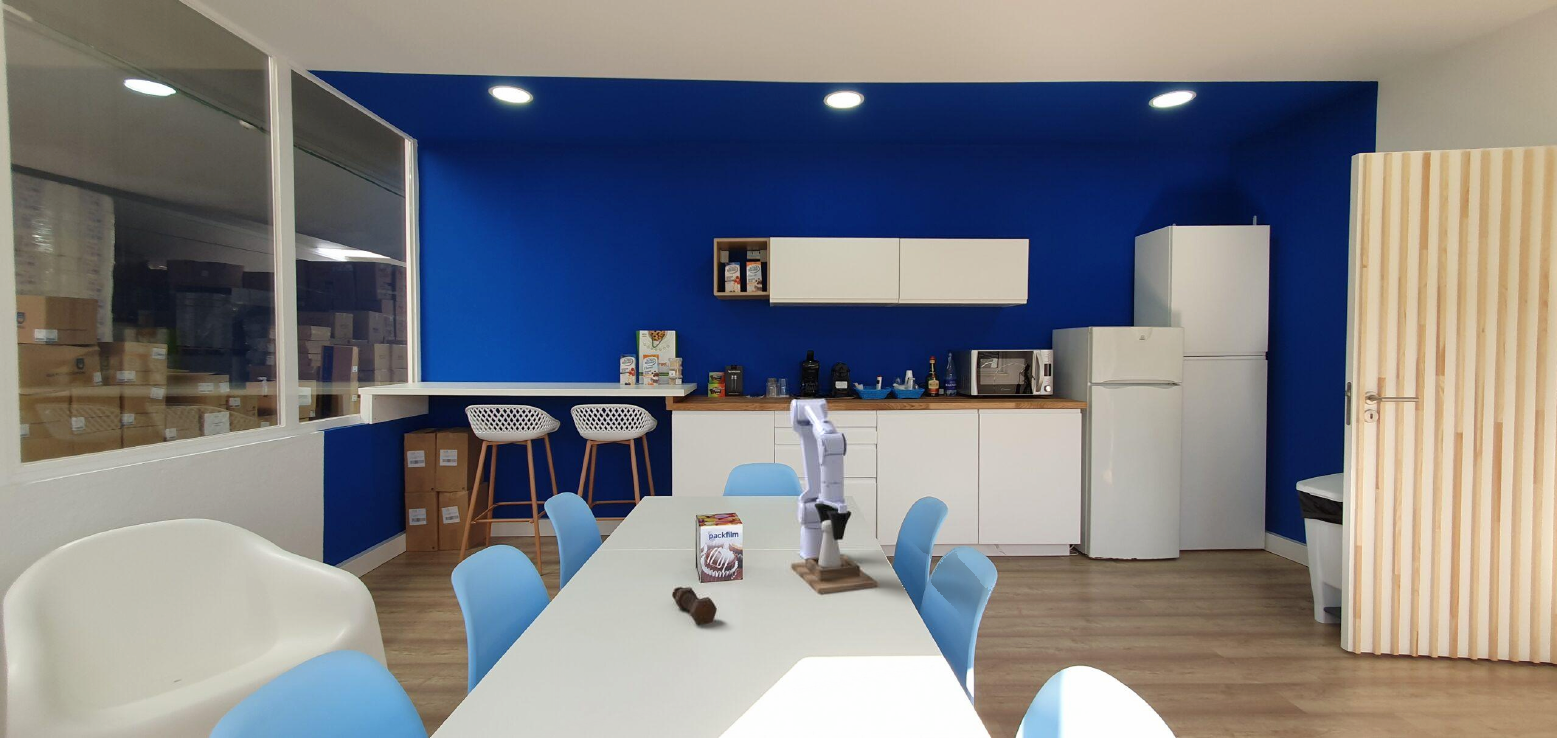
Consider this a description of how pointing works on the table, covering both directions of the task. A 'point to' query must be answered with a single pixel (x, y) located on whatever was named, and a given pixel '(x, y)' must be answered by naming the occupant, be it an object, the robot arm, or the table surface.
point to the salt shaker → (829, 548)
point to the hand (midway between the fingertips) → (832, 535)
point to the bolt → (695, 605)
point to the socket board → (833, 575)
